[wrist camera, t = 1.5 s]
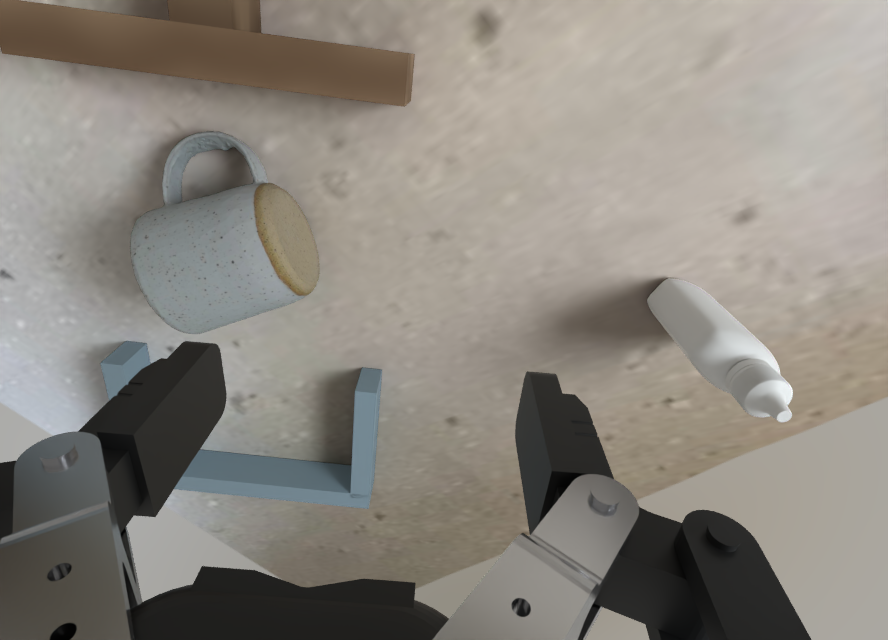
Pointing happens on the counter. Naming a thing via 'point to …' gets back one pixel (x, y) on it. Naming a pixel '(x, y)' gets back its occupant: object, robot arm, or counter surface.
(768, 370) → the eye dropper bottle
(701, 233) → the counter surface
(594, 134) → the counter surface
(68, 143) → the counter surface
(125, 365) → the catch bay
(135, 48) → the scraper
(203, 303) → the ceramic mug
